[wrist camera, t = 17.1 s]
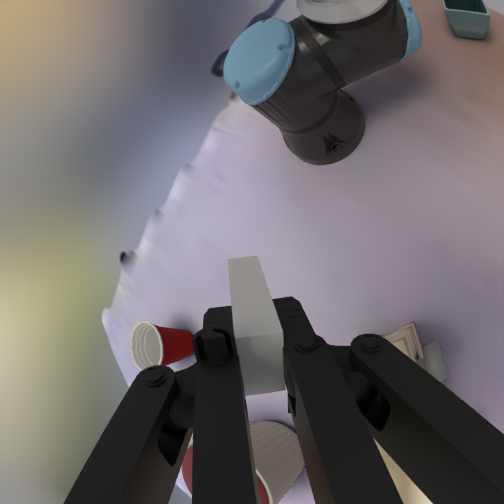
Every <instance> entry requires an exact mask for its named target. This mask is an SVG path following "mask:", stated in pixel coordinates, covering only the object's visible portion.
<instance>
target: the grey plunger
mask: <svg viewBox="0 0 504 504" xmlns="http://www.w3.org/2000/svg"><path fill="white" fill-rule="evenodd" d="M422 352H423V357H424V358H421V359H419V360H416V363H417V364H418V365H419V366H421V367H422V368H423V369H424V370H426V371H427V372H428V373H429V374H431V375H432V376H433V377H434V378H436V379H437V380H438V381H439V382H443V381H446V380H448V373H447V369H446V365H445V361H444V357H443V354H442V350H441V347H440V344H439V342H438V340H436V341H434V342H432V343H429V344H427V345H425V346H423V347H422Z"/></svg>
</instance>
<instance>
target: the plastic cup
mask: <svg viewBox="0 0 504 504" xmlns="http://www.w3.org/2000/svg"><path fill="white" fill-rule="evenodd" d="M192 338H193V335H192V333H190V332H189V331H186V330H178V329H173V328H165V327H159V326H156V325H153V324H152V323H150V322H149V321H141V322H139V323H137V324H136V326H135V327H134V329H133V331H132V335H131V339H130V349H131V354H132V358H133V360H134V362H135V364H136V366H137V368H138V369H139V370H140V371H142V370H144V369H145V368H147V367H150V366H154V365H164V366H166V365H169V364H171V363H174V362H177V361H179V360H182V359H183V358H186V357H188V356H191V355H192V354H193V353H194V349H193V345H192V341H191V340H192Z"/></svg>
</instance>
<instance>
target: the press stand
mask: <svg viewBox="0 0 504 504" xmlns="http://www.w3.org/2000/svg"><path fill="white" fill-rule="evenodd" d="M382 337H384V338H385V339H387V340H388V341H389V342H391V343H392V344H393V345H394V346H396V347H397V348H398V349H399V350H401V351H402V352H403V353H404V354H406V355H407V356H408V357H409V358H411V359H412V360H413V361H414V362H416V360H419V359H421V358H424V357H423V352H422V345H421V342H420V339H419V336H418V333H417V330H416V327H415V324H414V322H412V323H410V324H407V325H405V326H403V327H401V328H398V329H396V330H394V331H391V332H389V333H386V334H384V335H382ZM374 441H375V443H376V445H377V447H378V449H379V451H380V453H381V455H382V457H383V460H384V462H385V464H386V466H387V468H388V470H389V473H390V475H391V477H392V479H393V481H394V483H395V486H396V488H397V490H398V492H399V494H400V497H401V499H402V501H403V503H404V504H433V503H432V502H431V501H430V500H429V499H428V498H427V497H426V496H425V495H424V494H423V493H422V491H421V490H420V489H419V488H418V487H417V486H416V485H415V484H414V483H413V482H412V481H411V479H410V478H409V477H408V476H407V475H406V474H405V473H404V472H403V471H402V469H401V468H400V467H399V466H398V465H397V464H396V463H395V462H394V461H393V459H392V458H391V457H390V456H389V455H388V454H387V453H386V452H385V450H384V449H383V448H382V447H381V446H380V445H379V444H378V442H377V441H376V440H375V439H374Z"/></svg>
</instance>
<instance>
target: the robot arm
mask: <svg viewBox="0 0 504 504" xmlns="http://www.w3.org/2000/svg"><path fill="white" fill-rule="evenodd" d="M411 7H412V5H411V4H410V2H409V1H408V0H297V8H298V9H299V11H300V13H301V14H302V15H301V16H299V17H298V18H296V19H294V20H293V21H290V22H288V23H287V22H285V21H283V20H280V19H276V18H270V19H267V21H265V20H262V21H259V22H257V23H255V24H254V25H252V26H250V27H249V28H248V29H246V30H245V31H244V32H243V33H242V34H241V35H240V36H239V37H238V38H237V39H236V41H235V42H234V43H233V45H232V46H231V48H230V50H229V53H228V55H227V57H226V59H225V63H224V78H225V81H226V83H227V85H228V87H229V88H230V89H231V90H232V91H233V92H235V93H236V94H237V95H238V96H239V97H240V98H241V99H242V101H243V102H245V103H246V104H248V105H250V106H251V107H253V108H254V109H255V110H257V111H258V112H259V113H261V114H262V115H263V116H264V117H266V118H267V119H268V120H269V121H271V122H272V123H273V124H275V125H276V126H277V127H278V128H279V129H280V131H281V133H282V135H283V138H284V141H285V143H286V145H287V147H288V148H289V149H290V150H291V152H293V153H294V154H295V155H296V156H297V157H299V158H300V159H301V160H303V161H305V162H307V163H311V164H316V165H324V164H330V163H334V162H336V161H339V160H341V159H343V158H344V157H346V156H347V155H349V154H350V153H351V152H352V151H353V150H354V149H355V148H356V146H357V145H358V144H359V142H360V140H361V138H362V136H363V132H364V127H365V121H364V115H363V113H362V110H361V108H360V107H359V105H358V103H357V102H356V100H355V99H354V98H353V97H352V96H351V95H350V94H348V93H347V92H345V91H344V90H342V89H341V88H342V87H344V86H346V85H348V84H350V83H352V82H354V81H356V80H359V79H361V78H363V77H365V76H367V75H370V74H372V73H374V72H376V71H379V70H381V69H383V68H386V67H388V66H390V65H393V64H395V63H399V62H401V61H402V60H404V59H405V58H406V57H408V56H410V55H412V54H414V53H416V52H417V51H418V49H419V48H420V45H421V39H422V34H421V28H420V24H419V21H418V18H417V15H416V14H415V13H414V12H413V11H412V8H411ZM228 268H229V280H230V293H231V305H232V306H225V307H216V308H209V309H208V311H207V312H206V313H205V315H204V320H203V329H202V330H200V331H198V332H197V333H196V334H195V335H194V336H193V338H192V340H191V341H192V345H193V349H194V352H195V356H196V360H197V362H196V363H195V364H194V365H192V366H191V367H189V368H186V369H184V370H180V371H177V372H174V371H173V370H172V369H171V368H170V367H167V366H164V365H154V366H150V367H147V368H145V369H144V370H142V371H141V372H140V373H139V374H138V375H137V376H136V378H135V380H134V381H133V383H132V385H131V386H130V388H129V390H128V392H127V393H126V395H125V396H124V398H123V400H122V401H121V403H120V405H119V406H118V408H117V410H116V412H115V413H114V415H113V417H112V418H111V420H110V422H109V424H108V425H107V427H106V428H105V430H104V432H103V434H102V435H101V437H100V439H99V441H98V442H97V444H96V446H95V448H94V449H93V451H92V453H91V455H90V456H89V458H88V460H87V462H86V463H85V465H84V467H83V469H82V471H81V472H80V474H79V476H78V478H77V480H76V482H75V483H74V485H73V487H72V489H71V491H70V493H69V494H68V496H67V498H66V500H65V502H64V504H168V502H169V500H170V496H171V493H172V491H173V488H174V485H175V482H176V479H177V477H178V474H179V471H180V468H181V465H182V462H183V459H184V456H185V454H186V451H187V448H188V445H189V442H190V439H191V436H192V433H193V456H192V504H261V502H260V495H259V489H258V482H257V475H256V469H255V462H254V455H253V448H252V441H251V434H250V426H249V419H248V411H247V405H246V399H245V396H248V395H256V394H263V393H269V392H276V391H282V390H285V384H286V387H287V391H288V413H291V414H292V418H293V422H294V426H295V429H296V433H297V437H298V441H299V444H300V448H301V452H302V455H303V459H304V463H305V467H306V470H307V474H308V478H309V481H310V485H311V489H312V492H313V496H314V500H315V504H404V503H403V501H402V499H401V497H400V494H399V492H398V490H397V488H396V486H395V483H394V481H393V479H392V477H391V475H390V473H389V470H388V468H387V466H386V464H385V462H384V460H383V457H382V455H381V453H380V451H379V449H378V447H377V445H376V443H375V441H374V439H375V440H376V441H377V442H378V444H379V445H380V446H381V447H382V448H383V449H384V450H385V452H386V453H387V454H388V455H389V456H390V457H391V458H392V459H393V461H394V462H395V463H396V464H397V465H398V466H399V467H400V468H401V469H402V471H403V472H404V473H405V474H406V475H407V476H408V477H409V478H410V479H411V481H412V482H413V483H414V484H415V485H416V486H417V487H418V488H419V489H420V490H421V491H422V493H423V494H424V495H425V496H426V497H427V498H428V499H429V500H430V501H431V502H432V503H433V504H504V434H503V433H501V432H500V431H499V430H498V429H497V428H495V427H494V426H493V425H492V424H491V423H489V422H488V421H487V420H486V419H485V418H483V417H482V416H481V415H480V414H479V413H477V412H476V411H475V410H474V409H472V408H471V407H470V406H469V405H468V404H466V403H465V402H464V401H463V400H461V399H460V398H459V397H458V396H457V395H455V394H454V393H453V392H452V391H450V390H449V389H448V388H447V387H445V386H444V385H443V384H442V383H441V382H439V381H438V380H437V379H436V378H434V377H433V376H432V375H431V374H429V373H428V372H427V371H426V370H424V369H423V368H422V367H421V366H419V365H418V364H417V363H416V362H414V361H413V360H412V359H411V358H409V357H408V356H407V355H406V354H404V353H403V352H402V351H401V350H399V349H398V348H397V347H396V346H394V345H393V344H392V343H391V342H389V341H388V340H387V339H385V338H384V337H382V336H380V335H376V334H363V335H359V336H357V337H356V338H354V339H353V341H352V342H351V346H333V345H329V344H327V343H326V341H325V340H324V339H323V338H322V337H320V336H318V335H316V334H315V332H314V330H313V328H312V326H311V324H310V322H309V320H308V318H307V316H306V314H305V312H304V310H303V308H302V306H301V304H300V302H299V301H298V300H296V299H295V298H293V297H292V296H291V297H285V298H278V299H272V298H271V295H270V292H269V289H268V286H267V283H266V280H265V277H264V274H263V271H262V268H261V265H260V262H259V259H258V256H252V257H244V258H237V259H229V260H228Z"/></svg>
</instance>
